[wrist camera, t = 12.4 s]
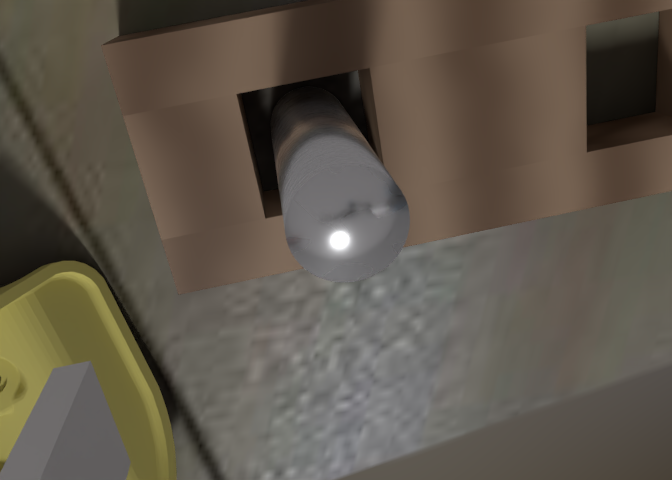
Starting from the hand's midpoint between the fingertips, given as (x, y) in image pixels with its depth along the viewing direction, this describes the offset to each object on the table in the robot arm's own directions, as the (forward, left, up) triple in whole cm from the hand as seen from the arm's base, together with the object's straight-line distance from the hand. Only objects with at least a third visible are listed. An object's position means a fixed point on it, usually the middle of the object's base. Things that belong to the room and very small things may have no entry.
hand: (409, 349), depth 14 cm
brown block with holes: (-8, 0, -21) cm, 22 cm away
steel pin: (0, 0, -21) cm, 21 cm away
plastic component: (+18, +14, -22) cm, 32 cm away
